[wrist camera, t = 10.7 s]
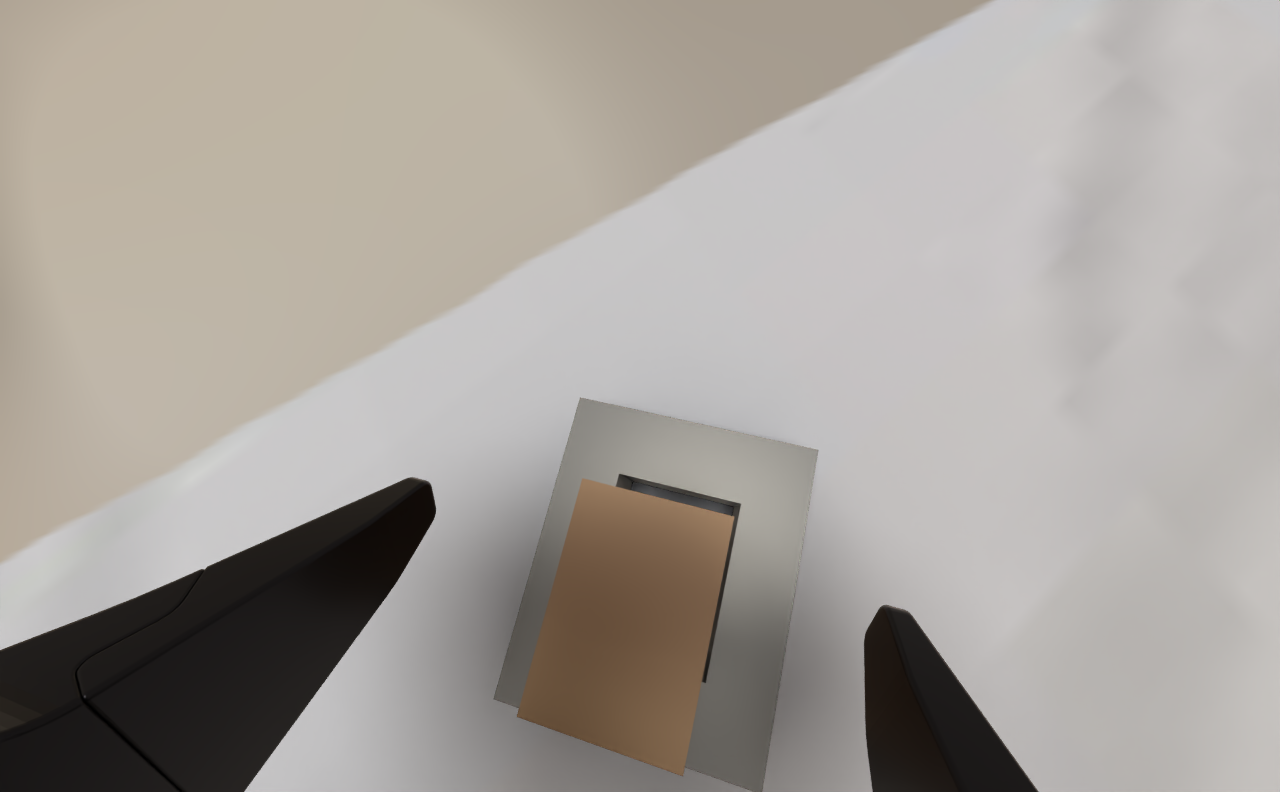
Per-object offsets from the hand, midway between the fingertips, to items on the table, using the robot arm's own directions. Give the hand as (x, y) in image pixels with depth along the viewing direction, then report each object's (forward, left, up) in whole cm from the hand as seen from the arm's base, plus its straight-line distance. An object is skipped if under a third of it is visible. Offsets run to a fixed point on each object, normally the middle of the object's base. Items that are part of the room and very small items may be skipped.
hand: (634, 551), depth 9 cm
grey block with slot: (-1, 0, -14) cm, 14 cm away
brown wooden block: (-1, 0, -14) cm, 14 cm away
